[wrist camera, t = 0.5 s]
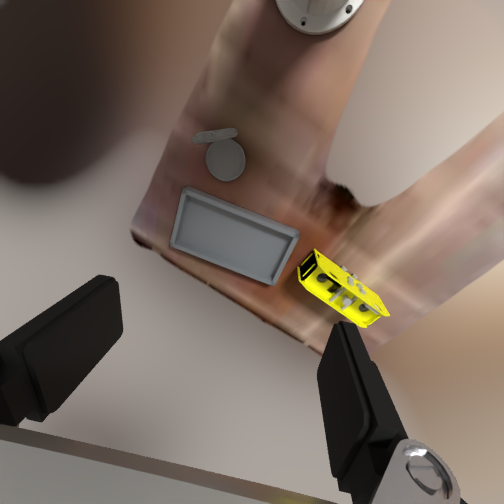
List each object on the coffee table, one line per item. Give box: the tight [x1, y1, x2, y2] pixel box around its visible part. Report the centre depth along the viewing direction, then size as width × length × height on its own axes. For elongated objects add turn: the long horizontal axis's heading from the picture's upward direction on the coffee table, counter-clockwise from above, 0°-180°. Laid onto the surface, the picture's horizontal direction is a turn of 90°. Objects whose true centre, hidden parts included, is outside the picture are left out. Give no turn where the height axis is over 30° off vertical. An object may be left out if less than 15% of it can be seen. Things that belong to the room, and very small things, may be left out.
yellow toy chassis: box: [297, 249, 390, 328], centre depth 43 cm, size 16×6×8 cm, turn 55°
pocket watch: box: [192, 128, 246, 181], centre depth 35 cm, size 8×8×10 cm
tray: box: [169, 186, 300, 286], centre depth 44 cm, size 12×22×2 cm, turn 69°
